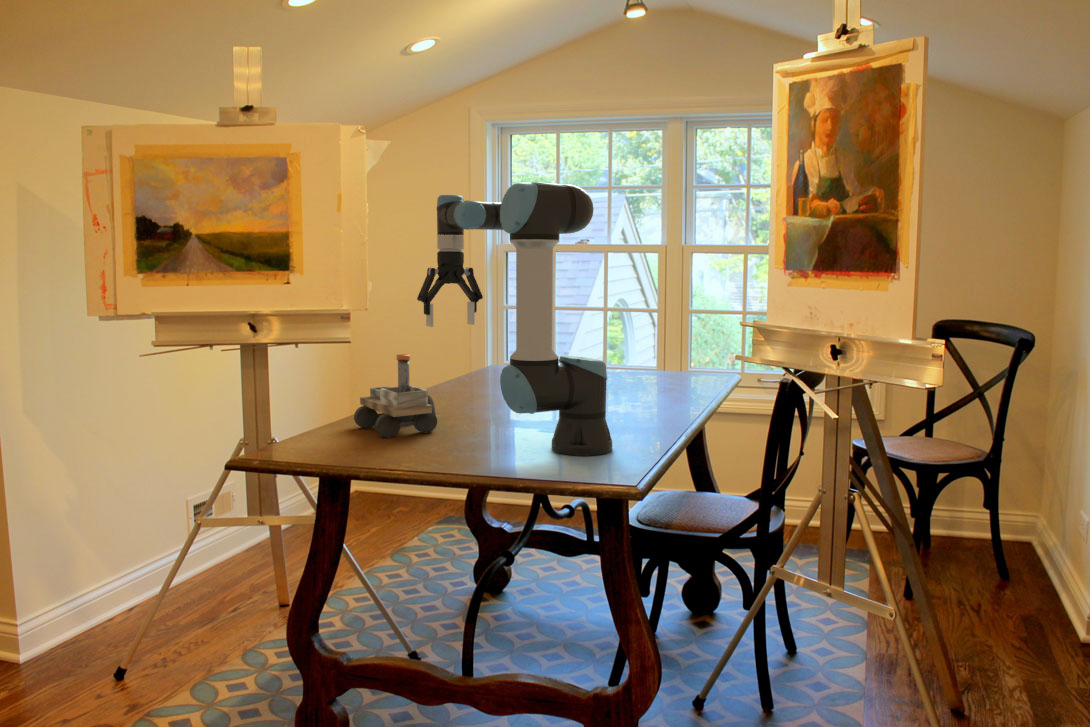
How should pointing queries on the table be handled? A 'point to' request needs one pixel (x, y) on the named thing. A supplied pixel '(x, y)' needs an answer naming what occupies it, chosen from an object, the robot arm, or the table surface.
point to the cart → (395, 410)
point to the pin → (403, 373)
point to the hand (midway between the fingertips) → (450, 325)
